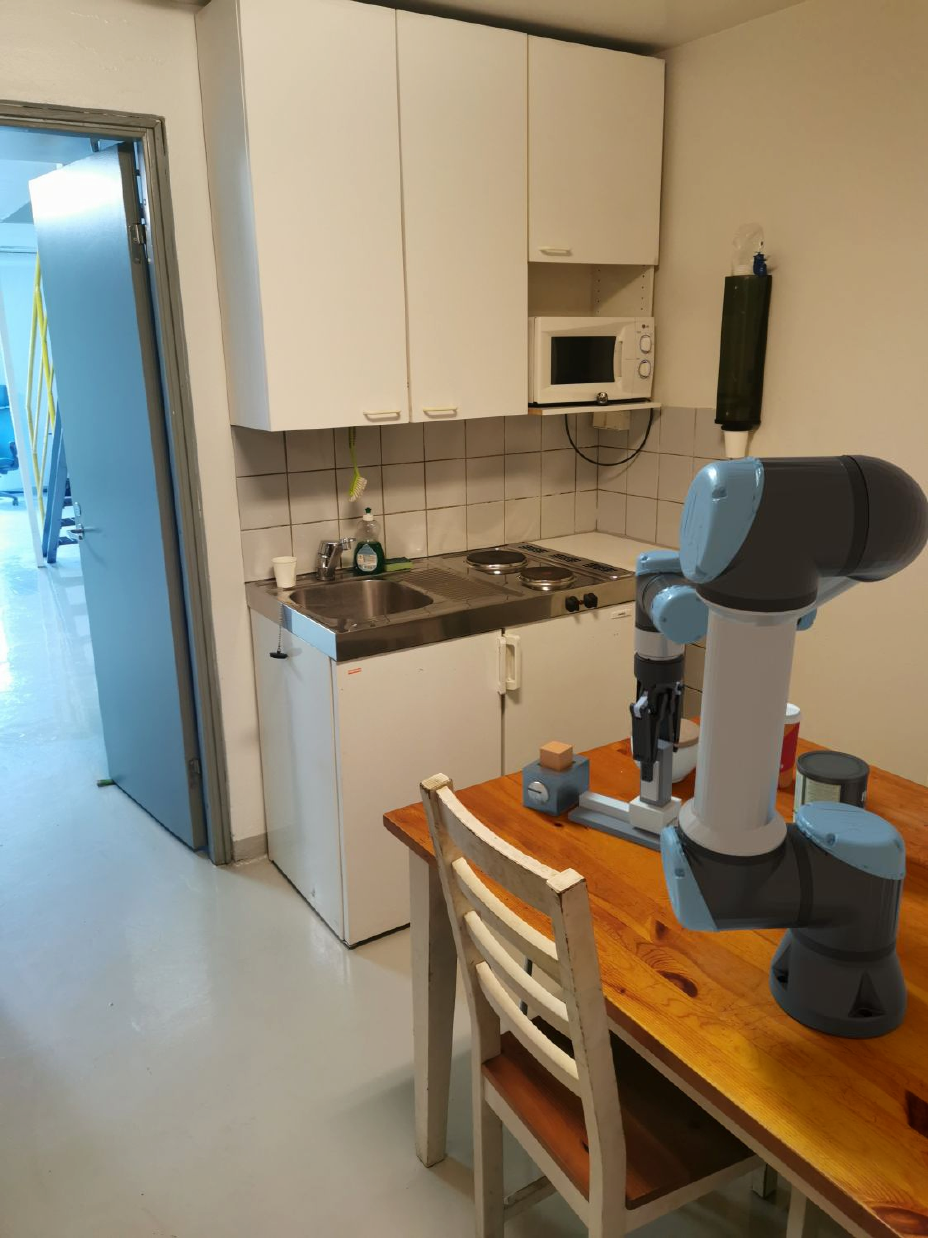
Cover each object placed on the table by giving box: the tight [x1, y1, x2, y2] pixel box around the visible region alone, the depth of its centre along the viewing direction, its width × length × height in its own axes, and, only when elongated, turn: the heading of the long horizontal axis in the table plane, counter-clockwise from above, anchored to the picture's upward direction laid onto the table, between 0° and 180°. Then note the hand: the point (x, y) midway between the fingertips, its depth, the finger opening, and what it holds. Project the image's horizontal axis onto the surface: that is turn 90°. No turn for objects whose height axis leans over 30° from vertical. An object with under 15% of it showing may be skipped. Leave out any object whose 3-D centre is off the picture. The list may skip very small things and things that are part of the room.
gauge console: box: [522, 753, 591, 818], centre depth 158 cm, size 11×7×7 cm, turn 140°
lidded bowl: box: [629, 717, 700, 784], centre depth 166 cm, size 13×13×11 cm
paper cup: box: [777, 702, 803, 790], centre depth 162 cm, size 8×8×14 cm
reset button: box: [539, 740, 574, 772], centre depth 157 cm, size 4×4×4 cm
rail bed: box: [567, 790, 678, 853], centre depth 150 cm, size 9×19×3 cm, turn 50°
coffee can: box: [792, 749, 871, 823], centre depth 140 cm, size 10×10×14 cm
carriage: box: [628, 739, 682, 835], centre depth 145 cm, size 6×6×14 cm
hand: (655, 793), depth 145 cm, fingers closed on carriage, 3 cm apart
